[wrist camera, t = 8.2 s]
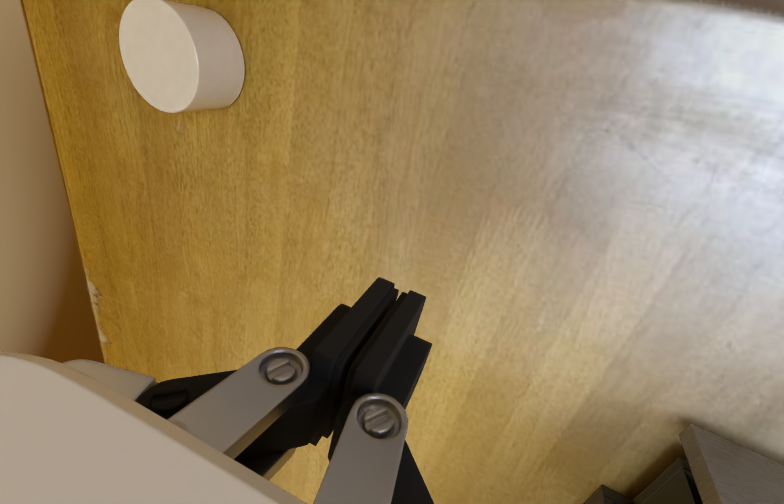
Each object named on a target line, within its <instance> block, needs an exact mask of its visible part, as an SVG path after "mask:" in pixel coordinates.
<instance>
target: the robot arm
mask: <svg viewBox="0 0 784 504" xmlns="http://www.w3.org/2000/svg"><path fill="white" fill-rule="evenodd" d="M394 285H395V284H394V283H392V282H390V281H387V280H385V279H382V278H380V277H379V278H377V279H376V281H375V282H374V283H373V284H372V285H371V286H370V287H369V288H368V290H367V291H366V292H365V293H364V294H363V295H362V296H361V297H360V299H359V300H358V301H357V302H356V303H355V304H354V305H353V306H352V308H351V307H349V306H346V305H344V304H340V305H339V306H338V307H337V308H336V309H335V310H334V311H333V312H332V313H331V314H330V315H329V316H328V317H327V318H326V319H325V320H324V321H323V322H322V323H321V324H320V325H319V327H318V328H317V329H316V330H315V331H314V332H313V333H312V334H311V335H310V336H309V337H308V338H307V339H306V340H305V341H304V342H303V343H302V344H301V345H300V346H299V347H298V348H297V349H296V350H295V349H292V348H287V347H277V348H273V349H269V350H267V351H265V352H263V353H261V354H260V355H258V356H257V357H256V358H254V359H253V360H251V361H250V362H248V363H247V364H246V365H244V366H243V367H241V368H240V369H238V370H233V371H226V372H219V373H212V374H205V375H199V376H192V377H185V378H178V379H171V380H167V381H163V382H160V383H157V382H156V379H155V377H151V376H147V375H143V374H140V373H136V372H132V371H129V370H125V369H121V368H118V367H114V366H110V365H107V364H103V363H99V362H95V361H92V360H84V359H79V360H71V361H68V362H65V363H59V362H56V361H53V360H50V359H46V358H42V357H38V356H33V355H29V354H21V353H13V352H4V351H1V352H0V504H307V503H305V502H303V501H302V500H300V499H298V498H297V497H295V496H293V495H292V494H290V493H288V492H287V491H285V490H283V489H282V488H280V487H278V486H277V485H275V484H273V483H272V482H270V481H269V480H270V479H271V478H272V477H273V476H274V475H275V474H276V473H277V472H278V471H279V470H280V469H281V467H282V466H283V465H284V464H285V463H286V462H287V461H288V460H289V459H290V458H291V457H292V455H293V454H294V452H295V451H296V448H297V447H301V446H305V445H308V443H311V444H313V445H315V446H316V445H317V443H318V442H319V440H320V439H321V437H322V436H324V437H326V438H328V437H329V436H330V435H331V433H332V431H333V430H334V431H333V436H332V440H331V444H330V449H329V453H328V459H329V465H328V468H327V470H326V473H325V475H324V478H323V480H322V483H321V485H320V488H319V490H318V493H317V495H316V498H315V500H314V503H313V504H434V503H433V500H432V498H431V496H430V494H429V491H428V489H427V487H426V485H425V483H424V480H423V478H422V476H421V474H420V472H419V469H418V467H417V465H416V463H415V461H414V458H413V456H412V454H411V452H410V450H409V447H408V445H407V443H406V441H405V437H406V433H407V428H408V417H407V414H406V411H405V409H406V407H407V405H408V402H409V400H410V398H411V396H412V394H413V391H414V389H415V387H416V385H417V382H418V380H419V378H420V375H421V373H422V370H423V368H424V365H425V363H426V360H427V357H428V354H429V352H430V349H431V346H432V343H429V342H427V341H425V340H423V339H420V338H418V337H416V336H414V333H415V330H416V327H417V324H418V321H419V318H420V315H421V312H422V309H423V306H424V303H425V300H426V296H423V295H421V294H418V293H416V292H414V291H411V290H410V291H409V293H408V294H407V293H405V292H402V293H401V295H400V296H399V298H398V299H397V296H398V292H399V290H397V289H395V288H394ZM396 299H397V300H396Z"/></svg>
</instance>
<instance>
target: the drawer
mask: <svg viewBox="0 0 784 504" xmlns="http://www.w3.org/2000/svg"><path fill="white" fill-rule="evenodd" d="M679 437H680V440H681V443H682V446H683V448H684V451H685V454H686V457H687V460H688V461H686V460H684V459H682V458H680V457H679V458H677V459H676V460H675V461H674V462H673V463H672V464H671V465H670V466H669V467H668V468H667V469H666V470H665V471H663V472H662V473H661V474H660V475H659V476H658V477H657V478H656V479H655V480H654V481H653V482H652V483H651V484H650V485H648V486H647V487H646V488H645V489H644V490H643V491H642V492H641V493H640V494H639V495H638V496H637V497H636V498H635V499H633V500H632V501H631V502H630V503H629V504H784V465H783V464H780V463H778V462H776V461H774V460H771V459H769V458H767V457H765V456H763V455H760V454H758V453H756V452H754V451H751V450H749V449H747V448H745V447H742V446H740V445H738V444H736V443H733V442H731V441H729V440H727V439H725V438H722V437H720V436H718V435H716V434H713V433H711V432H709V431H707V430H704V429H702V428H700V427H698V426H696V425H693V424H691V423H690V424H689V425H688V426H687V427H686V428H685V429H684V430H683V431H682V432H681V433H680V434H679Z"/></svg>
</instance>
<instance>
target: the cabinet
mask: <svg viewBox="0 0 784 504" xmlns="http://www.w3.org/2000/svg"><path fill="white" fill-rule="evenodd" d="M631 501H632V500H631V499H629V498H627V497H625V496H623V495H621V494H619V493H617V492H615V491H613V490H611V489H609V488H607V487H605V486H603V485H601V487H600V488H599V489H598V490H597V491H596V492H595V493H594V494H593V495H592V496H591V497H590V498H589V499H588V500H587V501H586V502H585V503H584V504H629V503H630V502H631Z"/></svg>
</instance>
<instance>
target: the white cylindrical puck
mask: <svg viewBox="0 0 784 504" xmlns="http://www.w3.org/2000/svg"><path fill="white" fill-rule="evenodd" d="M119 45H120V52H121V56H122V60H123V63H124V67H125V69H126V72H127V74H128V76H129V78H130V80H131V82H132V84H133V85H134V87H135V88H136V90H137V91H138V92H139V94H140V95H141V96H142V97H143V98H144V99H145V100H146V101H147V102H148V103H149V104H150V105H152V106H153V107H155V108H157V109H159V110H161V111H164V112H167V113H179V112H191V111H203V110H215V109H223V108H226V107H228V106H229V105H231V104H232V103H233V102H234V101H235V100H236V99H237V97H238V96H239V94H240V92H241V89H242V86H243V82H244V75H245V66H244V58H243V53H242V49H241V46H240V43H239V41H238V38H237V36H236V34H235V32H234V31H233V29H232V28H231V26H230V25H229V24H228V22H227V21H226V20H225V19H224V18H223V17H222V16H220V15H219V14H218V13H217V12H215V11H213V10H211V9H209V8H205V7H201V6H196V5H191V4H186V3H182V2H177V1H172V0H133V1H131V2H130V3H129V4H128V6H127V7H126V8H125V10H124V12H123V15H122V17H121V21H120V27H119Z"/></svg>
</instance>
